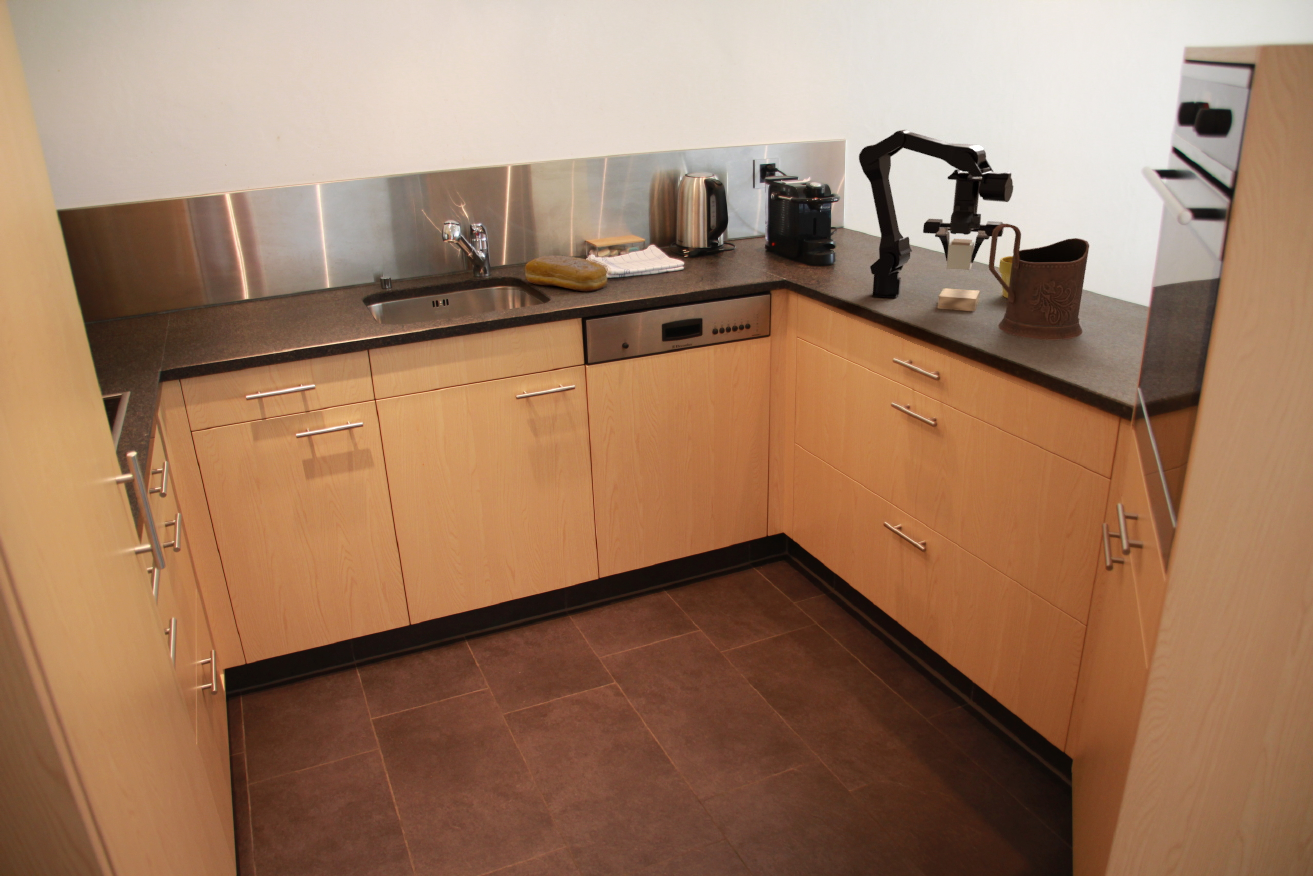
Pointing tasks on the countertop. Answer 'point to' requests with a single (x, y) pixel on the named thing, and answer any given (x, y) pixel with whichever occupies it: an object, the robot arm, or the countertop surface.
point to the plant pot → (1005, 271)
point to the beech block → (958, 299)
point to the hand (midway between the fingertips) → (959, 261)
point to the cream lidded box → (960, 254)
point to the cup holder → (1043, 288)
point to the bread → (566, 273)
